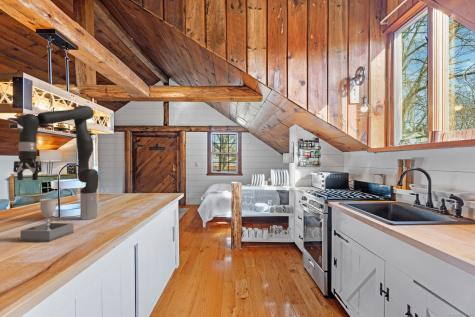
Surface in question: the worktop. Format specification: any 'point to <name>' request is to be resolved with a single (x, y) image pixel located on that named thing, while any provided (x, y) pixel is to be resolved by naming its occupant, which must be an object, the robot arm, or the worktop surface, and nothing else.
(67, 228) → the box
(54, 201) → the chalice
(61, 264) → the worktop surface
